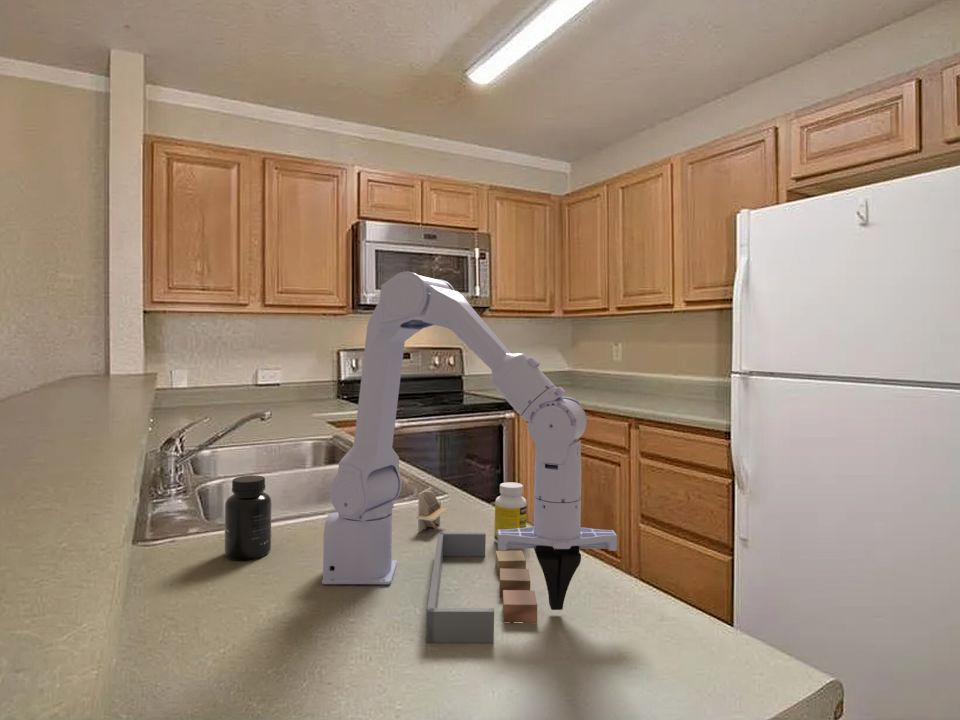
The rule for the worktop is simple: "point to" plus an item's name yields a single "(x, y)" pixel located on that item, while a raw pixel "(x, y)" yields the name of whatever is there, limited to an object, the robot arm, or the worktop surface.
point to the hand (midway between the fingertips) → (555, 606)
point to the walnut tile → (514, 579)
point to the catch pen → (457, 621)
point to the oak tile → (510, 560)
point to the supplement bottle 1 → (248, 519)
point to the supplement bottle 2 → (510, 508)
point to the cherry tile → (519, 606)
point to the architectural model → (428, 510)
